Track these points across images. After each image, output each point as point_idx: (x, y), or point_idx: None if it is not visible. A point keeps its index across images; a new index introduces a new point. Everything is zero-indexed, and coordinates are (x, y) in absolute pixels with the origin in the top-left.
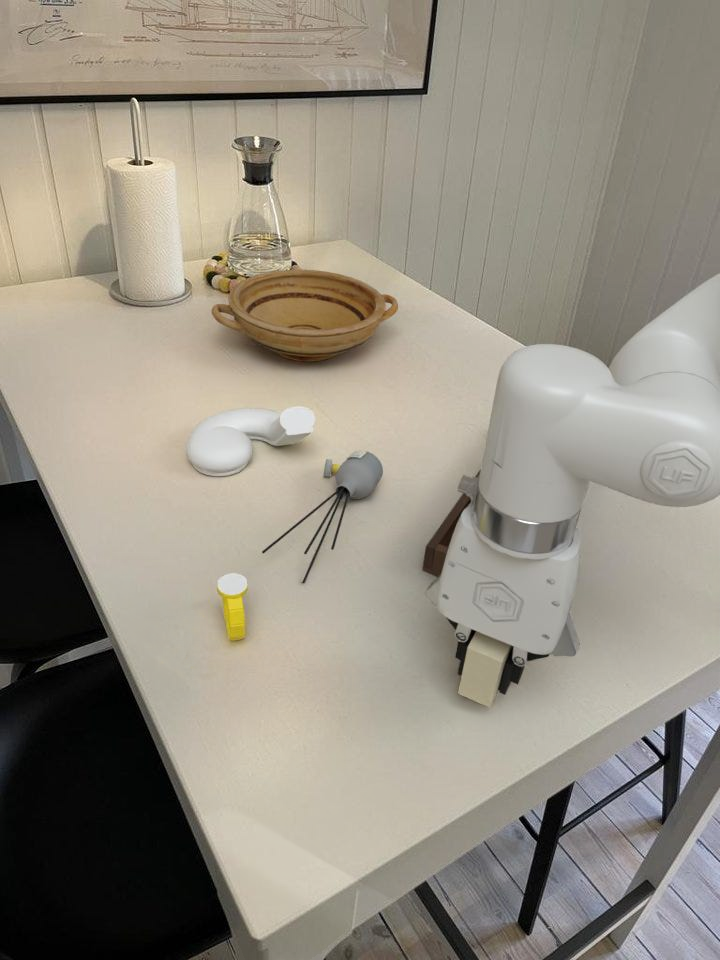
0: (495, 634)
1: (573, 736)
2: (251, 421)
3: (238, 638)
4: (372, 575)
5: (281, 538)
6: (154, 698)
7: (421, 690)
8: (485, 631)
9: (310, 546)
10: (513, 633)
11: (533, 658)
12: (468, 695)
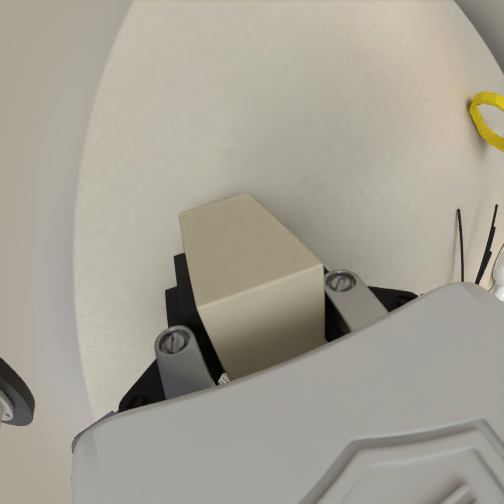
0: (290, 390)
1: (78, 285)
2: (501, 297)
3: (476, 98)
4: (414, 272)
5: (491, 230)
6: (464, 16)
7: (298, 172)
8: (333, 363)
9: (491, 239)
10: (222, 463)
11: (150, 370)
12: (228, 200)
